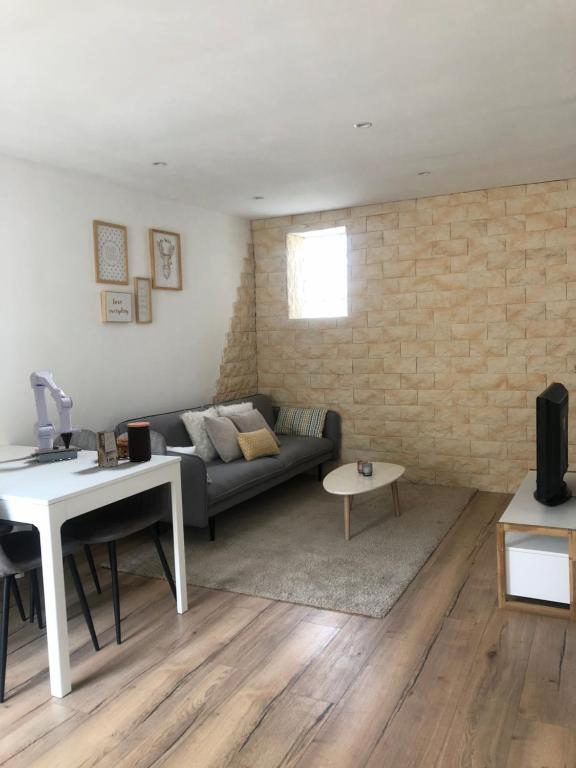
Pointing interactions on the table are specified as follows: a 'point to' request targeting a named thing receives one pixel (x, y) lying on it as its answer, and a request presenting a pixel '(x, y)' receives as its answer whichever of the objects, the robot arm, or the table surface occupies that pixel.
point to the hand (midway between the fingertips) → (67, 447)
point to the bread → (122, 447)
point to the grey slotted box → (55, 455)
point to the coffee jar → (139, 441)
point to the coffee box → (107, 448)
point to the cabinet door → (55, 449)
